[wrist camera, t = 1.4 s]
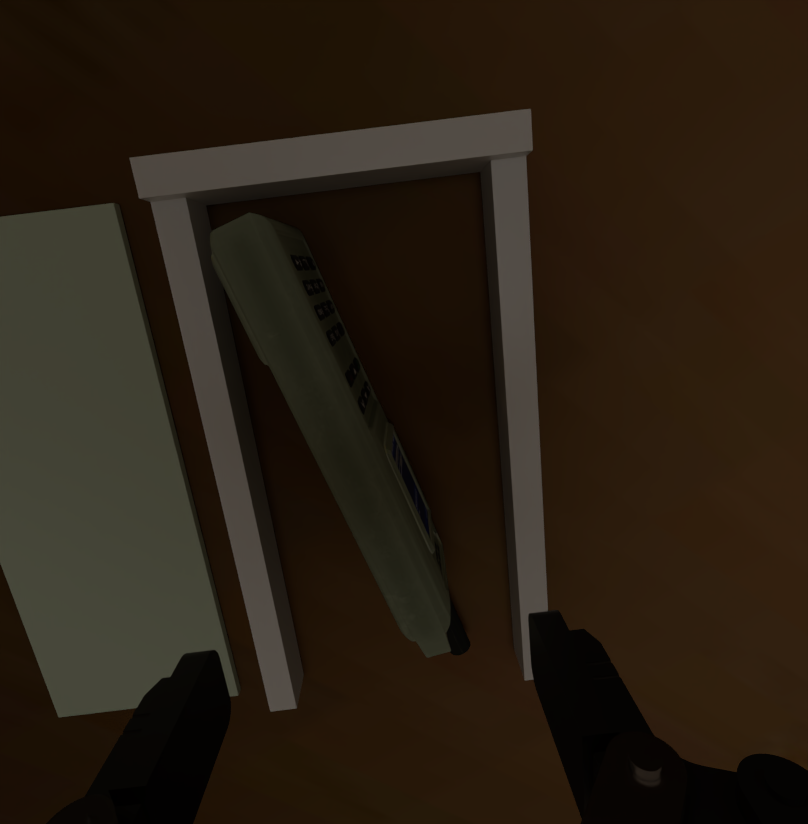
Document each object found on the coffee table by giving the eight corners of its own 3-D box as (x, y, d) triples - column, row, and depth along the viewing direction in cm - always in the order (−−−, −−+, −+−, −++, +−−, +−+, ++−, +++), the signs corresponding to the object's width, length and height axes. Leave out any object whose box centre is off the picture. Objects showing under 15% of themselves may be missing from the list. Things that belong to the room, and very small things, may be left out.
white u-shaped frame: (279, 677, 31) (266, 727, 27) (166, 174, 23) (129, 157, 20) (538, 645, 31) (556, 691, 27) (510, 132, 23) (530, 108, 20)
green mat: (63, 710, 31) (58, 717, 30) (-114, 232, 23) (-125, 232, 23) (240, 689, 31) (238, 695, 30) (119, 204, 23) (113, 203, 23)
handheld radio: (307, 219, 24) (485, 623, 31) (246, 247, 25) (434, 640, 31) (270, 201, 18) (506, 718, 24) (189, 240, 18) (442, 738, 24)
